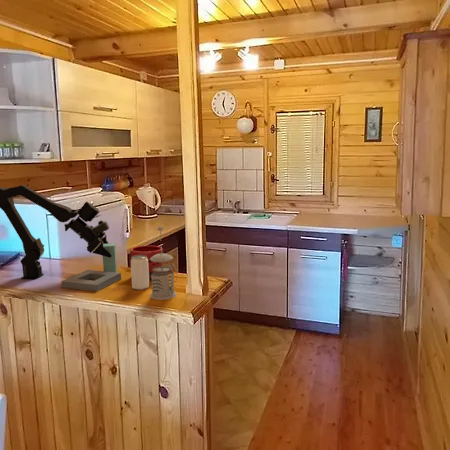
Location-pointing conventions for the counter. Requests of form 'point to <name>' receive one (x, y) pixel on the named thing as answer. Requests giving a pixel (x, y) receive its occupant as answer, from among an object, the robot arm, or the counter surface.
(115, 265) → the plug block
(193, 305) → the counter surface
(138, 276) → the can
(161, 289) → the french press
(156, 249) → the plant pot
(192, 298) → the counter surface
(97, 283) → the socket plate
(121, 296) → the counter surface
